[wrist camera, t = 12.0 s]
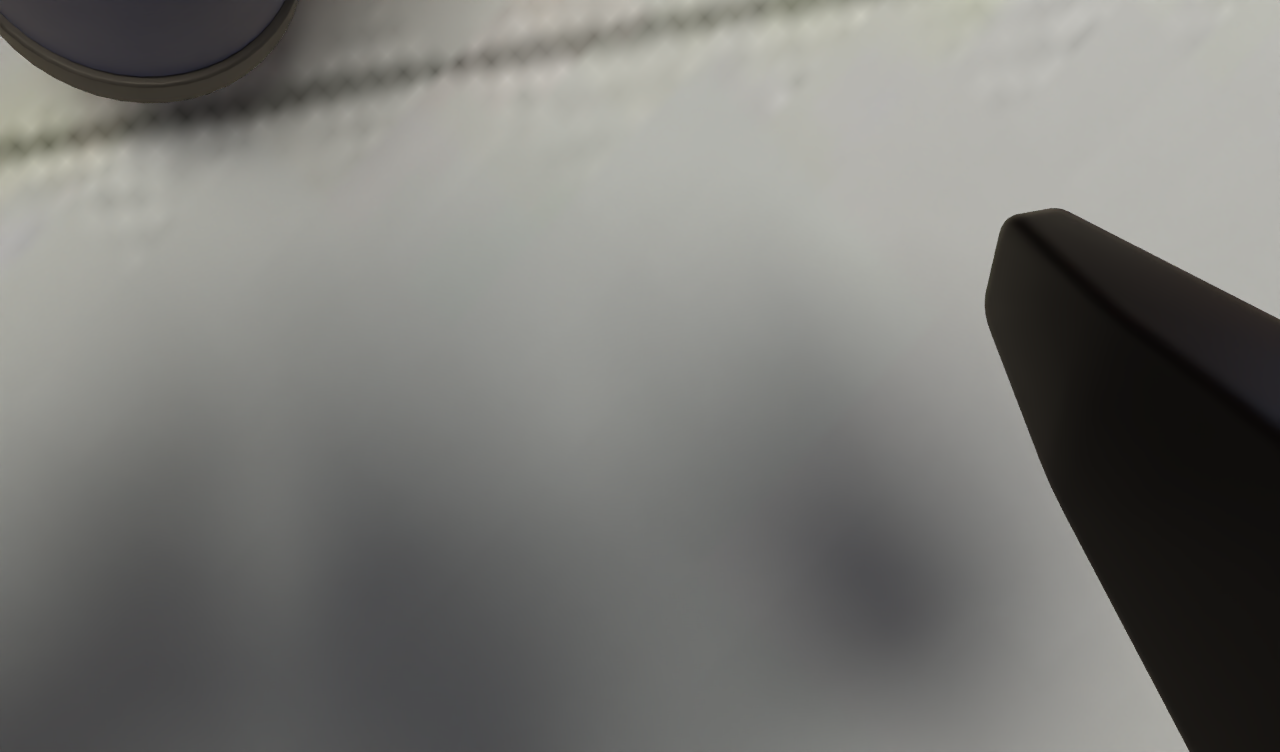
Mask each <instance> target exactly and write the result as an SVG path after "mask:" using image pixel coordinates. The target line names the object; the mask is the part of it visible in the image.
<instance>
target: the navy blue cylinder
mask: <svg viewBox="0 0 1280 752" xmlns="http://www.w3.org/2000/svg"><path fill="white" fill-rule="evenodd" d="M297 3H298V0H0V35H1V36H2V37H3V38H4V39H5V40H6V41H7V42H8V43H9V44H10V45H11V46H12V47H13V48H14V49H15V50H16V51H17V52H18V53H20V54H21V55H22V56H23V57H24V58H26V59H27V60H28V61H29V62H31V63H32V64H33V65H35V66H36V67H38V68H39V69H41V70H43V71H44V72H46V73H47V74H49V75H51V76H52V77H54V78H56V79H58V80H60V81H62V82H64V83H66V84H68V85H70V86H72V87H75V88H77V89H80V90H83V91H86V92H89V93H91V94H94V95H97V96H101V97H106V98H110V99H115V100H119V101H128V102H137V103H168V102H175V101H182V100H188V99H192V98H196V97H199V96H203V95H207V94H210V93H212V92H214V91H217V90H219V89H221V88H224V87H226V86H228V85H230V84H232V83H233V82H235V81H237V80H238V79H240V78H242V77H243V76H245V75H246V74H248V73H249V72H250V71H251V70H253V69H254V68H255V67H256V66H258V65H259V64H260V63H261V62H262V61H263V60H264V59H265V58H266V57H267V56H268V55H269V54H270V52H271V51H272V50H273V49H274V48H275V47H276V45H277V44H278V42H279V41H280V39H281V38H282V36H283V35H284V34H285V32H286V30H287V28H288V26H289V24H290V22H291V20H292V18H293V15H294V12H295V9H296V6H297Z"/></svg>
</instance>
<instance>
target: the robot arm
mask: <svg viewBox="0 0 1280 752" xmlns="http://www.w3.org/2000/svg"><path fill="white" fill-rule="evenodd" d="M985 313H986V318H987V323H988V326H989V329H990V331H991V334H992V337H993V339H994V342H995V345H996V347H997V350H998V352H999V355H1000V358H1001V360H1002V363H1003V365H1004V368H1005V371H1006V373H1007V376H1008V378H1009V381H1010V384H1011V386H1012V389H1013V392H1014V394H1015V397H1016V399H1017V402H1018V405H1019V407H1020V410H1021V412H1022V415H1023V418H1024V420H1025V423H1026V425H1027V428H1028V431H1029V433H1030V436H1031V439H1032V441H1033V444H1034V446H1035V449H1036V452H1037V454H1038V457H1039V459H1040V462H1041V464H1042V467H1043V469H1044V471H1045V474H1046V476H1047V479H1048V481H1049V483H1050V486H1051V488H1052V490H1053V492H1054V494H1055V496H1056V498H1057V500H1058V502H1059V504H1060V506H1061V508H1062V510H1063V512H1064V514H1065V516H1066V518H1067V520H1068V522H1069V523H1070V525H1071V527H1072V529H1073V531H1074V533H1075V535H1076V537H1077V539H1078V541H1079V542H1080V544H1081V546H1082V548H1083V550H1084V552H1085V554H1086V556H1087V558H1088V560H1089V561H1090V563H1091V565H1092V567H1093V569H1094V571H1095V573H1096V575H1097V577H1098V579H1099V580H1100V582H1101V584H1102V586H1103V588H1104V590H1105V592H1106V594H1107V596H1108V598H1109V599H1110V601H1111V603H1112V605H1113V607H1114V609H1115V611H1116V613H1117V615H1118V617H1119V618H1120V620H1121V622H1122V624H1123V626H1124V628H1125V630H1126V632H1127V634H1128V636H1129V637H1130V639H1131V641H1132V643H1133V645H1134V647H1135V649H1136V651H1137V653H1138V655H1139V656H1140V658H1141V660H1142V662H1143V664H1144V666H1145V668H1146V670H1147V672H1148V674H1149V675H1150V677H1151V679H1152V681H1153V683H1154V685H1155V687H1156V689H1157V691H1158V693H1159V694H1160V696H1161V698H1162V700H1163V702H1164V704H1165V706H1166V708H1167V710H1168V712H1169V713H1170V715H1171V717H1172V719H1173V721H1174V723H1175V725H1176V727H1177V729H1178V731H1179V732H1180V734H1181V736H1182V738H1183V740H1184V742H1185V744H1186V746H1187V748H1188V750H1189V751H1190V752H1280V319H1278V318H1276V317H1274V316H1272V315H1270V314H1268V313H1266V312H1264V311H1262V310H1260V309H1258V308H1256V307H1254V306H1252V305H1250V304H1248V303H1246V302H1244V301H1242V300H1240V299H1238V298H1237V297H1235V296H1233V295H1231V294H1229V293H1227V292H1225V291H1223V290H1221V289H1219V288H1217V287H1215V286H1213V285H1211V284H1209V283H1207V282H1205V281H1203V280H1201V279H1199V278H1197V277H1195V276H1193V275H1192V274H1190V273H1188V272H1186V271H1184V270H1182V269H1180V268H1178V267H1176V266H1174V265H1172V264H1170V263H1168V262H1166V261H1164V260H1162V259H1160V258H1158V257H1156V256H1154V255H1152V254H1150V253H1148V252H1147V251H1145V250H1143V249H1141V248H1139V247H1137V246H1135V245H1133V244H1131V243H1129V242H1127V241H1125V240H1123V239H1121V238H1119V237H1117V236H1115V235H1113V234H1111V233H1109V232H1107V231H1105V230H1103V229H1102V228H1100V227H1098V226H1096V225H1094V224H1092V223H1090V222H1088V221H1086V220H1084V219H1082V218H1080V217H1078V216H1076V215H1074V214H1072V213H1070V212H1068V211H1065V210H1063V209H1059V208H1050V209H1044V210H1039V211H1033V212H1027V213H1022V214H1016V215H1014V216H1012V217H1010V218H1008V219H1007V220H1006V221H1005V223H1004V224H1003V226H1002V227H1001V230H1000V233H999V237H998V242H997V246H996V250H995V255H994V259H993V263H992V268H991V272H990V276H989V281H988V285H987V289H986V295H985Z"/></svg>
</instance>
